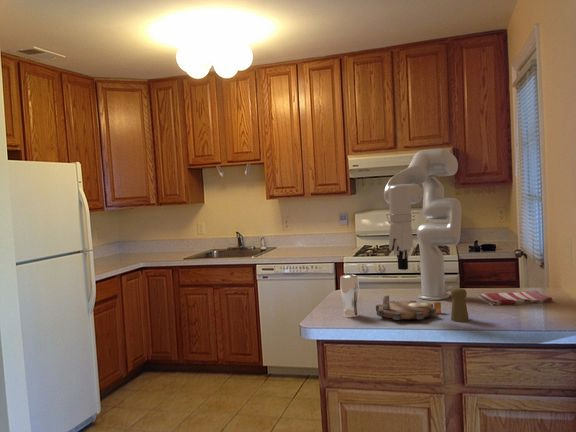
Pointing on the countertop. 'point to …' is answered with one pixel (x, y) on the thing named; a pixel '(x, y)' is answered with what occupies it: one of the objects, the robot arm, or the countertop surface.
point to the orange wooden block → (436, 305)
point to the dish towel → (514, 298)
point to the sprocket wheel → (404, 309)
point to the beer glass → (350, 295)
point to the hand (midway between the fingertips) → (403, 269)
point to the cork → (459, 305)
